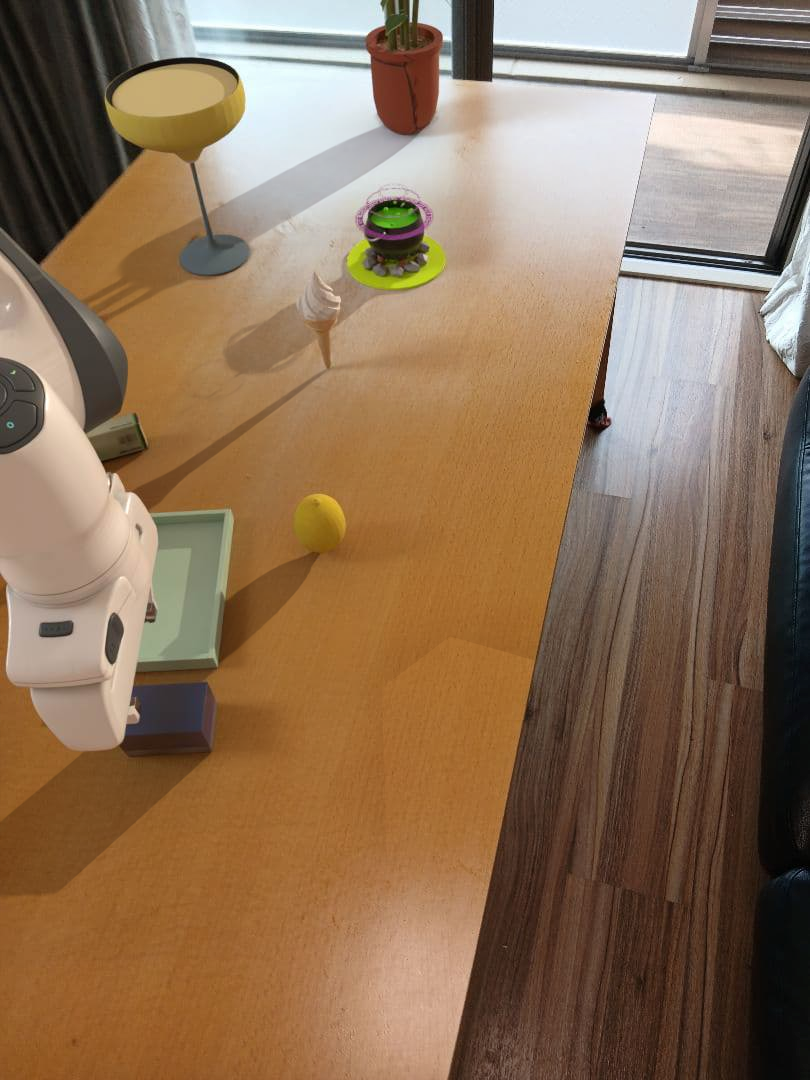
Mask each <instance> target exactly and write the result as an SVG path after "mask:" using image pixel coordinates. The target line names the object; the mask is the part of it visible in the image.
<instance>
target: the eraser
mask: <svg viewBox="0 0 810 1080" xmlns="http://www.w3.org/2000/svg"><path fill="white" fill-rule="evenodd" d="M131 697H137V699H138V700H139V703H141V712H140V718H139V722H138V723H135V724H126V729H125V736H124V739H123V741H122V743H121V744H120V745H118V746H119V748H120V749H121V750H122V751H123V753H124V754H125V755H126V757H142V756H143V757H144V756H157V755H158V756H161V755H178V754H179V755H180V754H194V753H195V754H198V753H199V754H200V753H213V750H214V741H215V731H216V723H217V715H218V714H217V713H218V705H219V704H218V701H217V699H216V696H215V695H214V692H213V691H212V688H211V686H210V684H209V682H208V681H197V682H196V681H195V682H179V683H162V684H161V683H160V684H159V683H157V684H142V685H140V684H139V685H133V689H132V695H131Z"/></svg>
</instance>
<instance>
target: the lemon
mask: <svg viewBox="0 0 810 1080" xmlns="http://www.w3.org/2000/svg"><path fill="white" fill-rule="evenodd" d="M346 523H347V522H346V517H345V514H344V511H343V509H342V508H341V506H340V504H339V503H338V502H337V501H336V500H335V499H334V498H333V497H331V496H330V495H327V494H324V493H313V494H310V495H307V496H306V497H304V498H303V499H302V500H300V502H299V503H298V504H297V506H296V508H295V511H294V515H293V531H294V533H295V536H296V538H297V540H298V542H299V543H300V544H301V545H302V547H304V548H305V549H307V550H308V551H310V552H313V553H318V554H323V553H328V552H331V551H333V550H334V549H336V548H337V547H338V546H339V545H340V544H341V543H342V541H343V540H344V537H345V534H346V528H347V527H346V526H347V525H346Z"/></svg>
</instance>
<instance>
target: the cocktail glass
mask: <svg viewBox="0 0 810 1080" xmlns="http://www.w3.org/2000/svg"><path fill="white" fill-rule="evenodd" d="M104 103H105V108H106V112H107V116H108V118H109V121H110V123H111V125H112V127H113V128H114V130H115V131H116V133H117V134H118V135H119V136H121V137H122V138H123V139H125V140H126V141H128V142H130V143H132V144H133V145H135V146H137V147H139V148H142V149H145V150H149V151H153V152H158V153H165V154H174V155H175V156H177V157H178V158H179V159H180V160H182V161H183V162H184V163H187V164H189V167H190V171H191V174H192V178H193V182H194V185H195V191H196V194H197V198H198V202H199V207H200V210H201V215H202V219H203V225H204V228H205V234H206V236H202V237H200V238H197V239H195V240H193V241H191V242H190V243H188V244H187V245H185V247H184V248H182V250H181V252H180V254H179V263H180V266H181V267H182V268H183V269H184V270H185V271H187V272H188V273H190V274H193V275H197V276H203V277H211V276H212V277H215V276H221V275H224V274H228V273H230V272H231V273H232V272H233V271H235V270H237V269H239V268H240V267H241V266H242V265H244V264H245V262H247V260H248V258H249V256H250V246H249V244H248V243H247V242H246V241H245V240H243V238H240V237H238V236H235V235H231V234H225V233H224V234H223V233H222V234H221V233H220V234H219V233H218V234H214V233H213V230H212V227H211V224H210V220H209V217H208V212H207V209H206V205H205V201H204V197H203V193H202V188H201V185H200V181H199V177H198V172H197V168H196V165H195V163H196V162H197V161H198V160H199V158H200V157H201V155H202V153H203V150H204V149H205V148H207V147H210V146H212V145H213V144H215V143H218V142H219V141H220V140H222V139H224V138H225V137H227V136H228V135H229V134H230V133H231V132H232V131H233V130H234V129H235V128H236V127H237V126H238V124H239V123H240V121H241V120H242V118H243V117H244V114H245V111H246V93H245V88H244V84H243V81H242V78H241V75H240V74H239V73H238V71H237V70H236V68H234V67H233V66H231V65H230V64H228V63H226V62H223V61H220V60H218V59H213V58H209V57H208V58H207V57H199V56H198V57H197V56H182V57H181V56H180V57H170V58H163V59H158V60H153V61H150V62H146V63H143V64H140V65H137V66H135V67H132V68H130V69H127V70H126V71H124V72H122V73H121V74H119V75H117V76H116V77H115V78H114V79H113V80H112V81H111V82H109V84H108V86H107V87H106V89H105V91H104Z"/></svg>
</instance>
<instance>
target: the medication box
mask: <svg viewBox="0 0 810 1080" xmlns="http://www.w3.org/2000/svg"><path fill="white" fill-rule="evenodd" d="M86 436H87V438H88V439H89V441H90V443H91V445H92V446H93V448H94V450H95V452H96V454H97V456H98V457H99V459H100V461H101V462H104V461H107V460H111V459H114V458H118V457H122V456H126V455H129V454H133V453H136V452H140V451H144V450H148V449H149V442H148V438H147V436H146V433H145V431H144V429H143V426H142V423H141V420H140V418H139V416H138V414H137V412H132V413H127V414H124V415H121V416H120V415H119V416H117V417H113V418H111V419H109V420H108V421H106V422H104V423H103V424H101V425H100V426H98V427H96V428H95V429H93V430H91V431H90V432H88V433H86Z"/></svg>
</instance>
